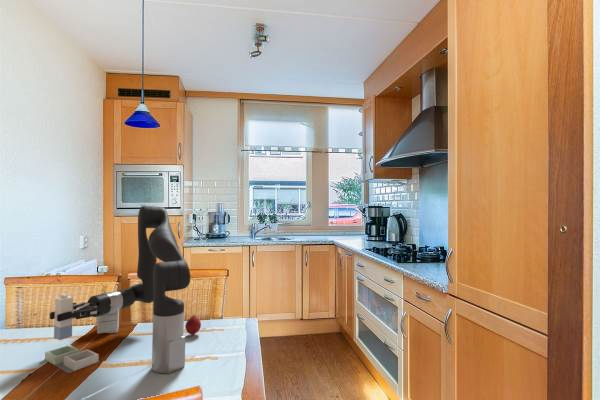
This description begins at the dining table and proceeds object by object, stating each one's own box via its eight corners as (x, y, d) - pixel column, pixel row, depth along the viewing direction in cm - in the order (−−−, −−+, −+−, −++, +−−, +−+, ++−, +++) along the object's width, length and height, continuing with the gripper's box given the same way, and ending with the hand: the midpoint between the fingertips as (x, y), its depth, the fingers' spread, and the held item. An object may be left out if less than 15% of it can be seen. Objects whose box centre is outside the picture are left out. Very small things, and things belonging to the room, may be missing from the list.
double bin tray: (99, 363, 107) (99, 354, 107) (68, 375, 99) (68, 365, 99) (73, 351, 116) (74, 342, 116) (44, 361, 108) (44, 351, 108)
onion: (195, 338, 128) (196, 317, 128) (182, 337, 129) (182, 316, 130) (203, 333, 134) (203, 313, 134) (190, 331, 135) (190, 312, 135)
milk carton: (71, 336, 110) (73, 294, 110) (60, 340, 107) (61, 296, 107) (65, 334, 112) (66, 292, 112) (53, 337, 109) (55, 295, 109)
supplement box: (98, 329, 137) (99, 298, 137) (119, 326, 140) (119, 296, 140) (96, 335, 130) (97, 303, 130) (117, 332, 133) (118, 301, 133)
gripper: (94, 290, 126) (42, 302, 110) (118, 295, 119) (66, 309, 104) (93, 310, 126) (41, 324, 110) (117, 316, 119) (66, 333, 104)
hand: (54, 317), depth 107 cm, fingers closed on milk carton, 3 cm apart
